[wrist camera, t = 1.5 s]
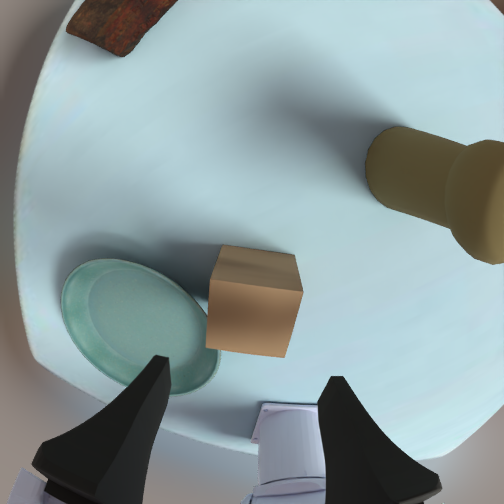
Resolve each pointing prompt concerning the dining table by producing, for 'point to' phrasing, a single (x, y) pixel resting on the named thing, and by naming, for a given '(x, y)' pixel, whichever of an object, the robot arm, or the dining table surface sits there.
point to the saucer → (137, 323)
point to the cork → (443, 185)
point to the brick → (116, 22)
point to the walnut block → (253, 301)
